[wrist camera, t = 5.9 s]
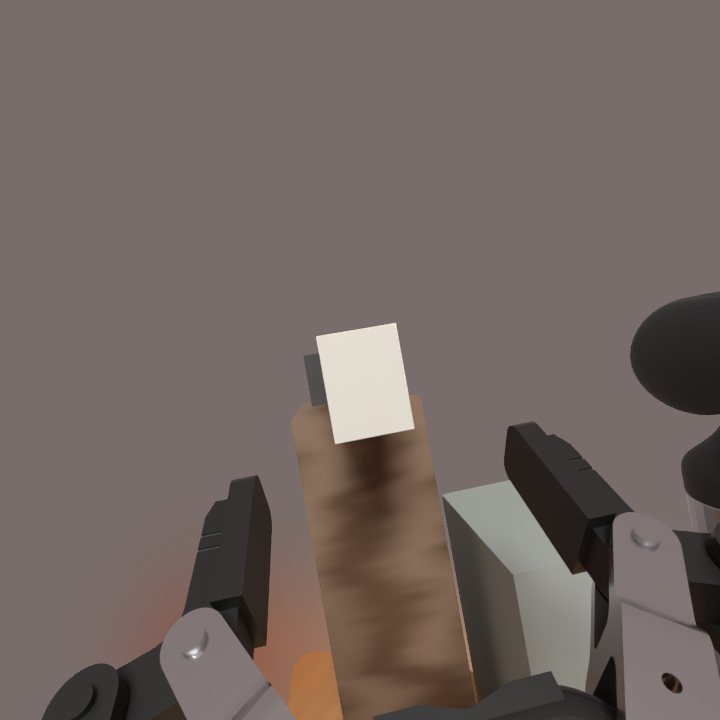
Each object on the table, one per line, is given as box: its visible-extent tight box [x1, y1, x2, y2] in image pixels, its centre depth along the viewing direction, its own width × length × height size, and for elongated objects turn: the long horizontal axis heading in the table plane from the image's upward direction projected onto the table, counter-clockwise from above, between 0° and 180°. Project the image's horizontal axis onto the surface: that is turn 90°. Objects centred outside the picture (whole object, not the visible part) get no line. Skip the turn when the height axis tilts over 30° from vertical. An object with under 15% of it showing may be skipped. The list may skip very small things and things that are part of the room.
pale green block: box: [442, 480, 593, 702], centre depth 25 cm, size 8×12×21 cm, turn 5°
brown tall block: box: [291, 393, 476, 720], centre depth 29 cm, size 8×12×30 cm, turn 5°
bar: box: [304, 323, 415, 444], centre depth 25 cm, size 6×21×4 cm, turn 5°
